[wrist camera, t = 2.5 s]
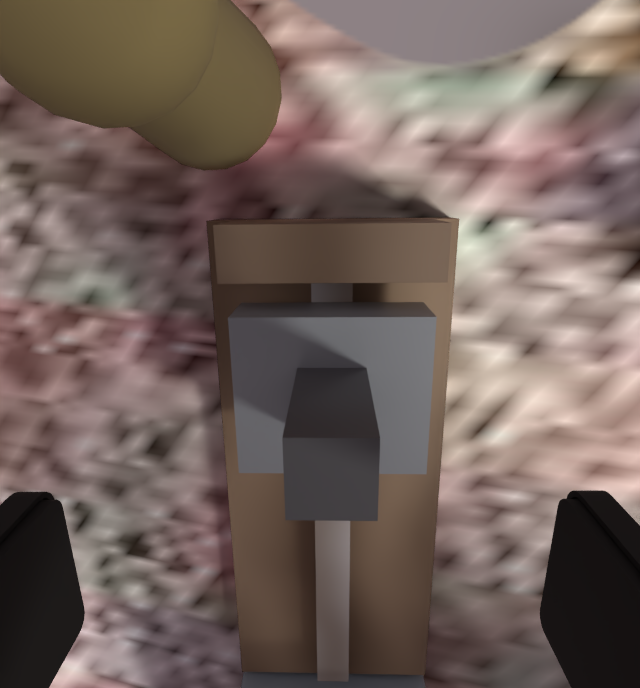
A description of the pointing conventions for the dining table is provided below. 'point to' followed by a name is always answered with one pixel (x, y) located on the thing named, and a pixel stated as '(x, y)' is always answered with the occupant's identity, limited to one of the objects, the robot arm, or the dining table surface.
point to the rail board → (394, 489)
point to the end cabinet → (305, 684)
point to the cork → (148, 71)
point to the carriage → (332, 399)
